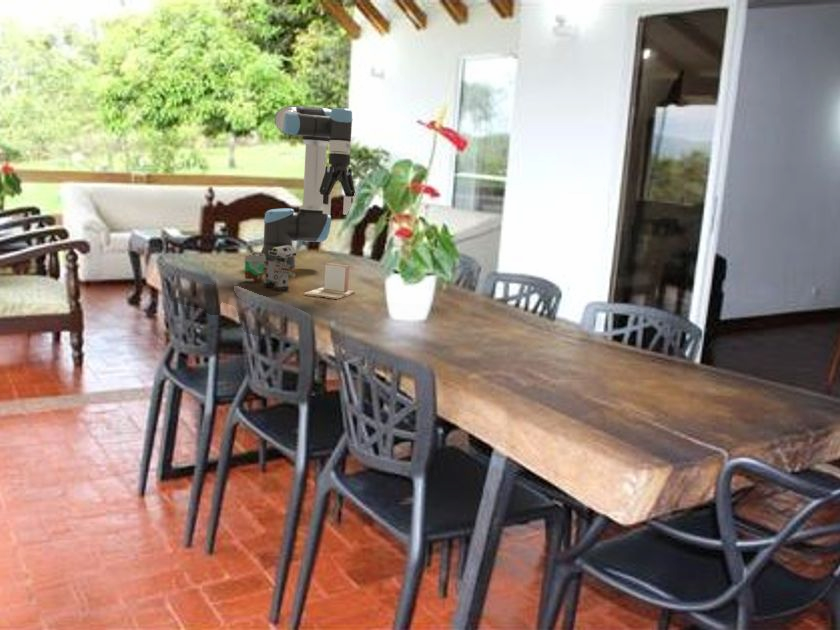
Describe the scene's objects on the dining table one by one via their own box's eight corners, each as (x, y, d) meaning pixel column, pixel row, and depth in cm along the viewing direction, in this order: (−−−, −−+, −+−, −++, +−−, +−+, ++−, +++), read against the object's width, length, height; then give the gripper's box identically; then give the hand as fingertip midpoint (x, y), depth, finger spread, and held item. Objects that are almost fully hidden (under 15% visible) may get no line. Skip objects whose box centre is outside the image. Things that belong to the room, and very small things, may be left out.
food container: (261, 285, 298) (262, 257, 296) (243, 283, 298) (245, 255, 296) (268, 279, 310) (269, 252, 308) (251, 278, 310) (252, 251, 308)
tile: (327, 288, 298) (328, 263, 296) (347, 290, 296) (349, 265, 294) (323, 289, 295) (324, 263, 293) (344, 292, 293) (345, 266, 291)
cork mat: (323, 288, 300) (323, 286, 300) (354, 293, 297) (354, 291, 296) (303, 295, 285) (303, 292, 285) (336, 299, 282) (336, 297, 281)
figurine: (301, 289, 296) (304, 247, 293) (275, 291, 287) (277, 248, 284) (285, 285, 302) (287, 243, 299) (259, 287, 293) (261, 244, 290)
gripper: (329, 150, 282) (326, 214, 285) (366, 156, 305) (363, 215, 307) (310, 150, 286) (308, 212, 288) (348, 156, 308) (345, 214, 310)
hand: (336, 214), depth 298 cm, fingers open, 13 cm apart
